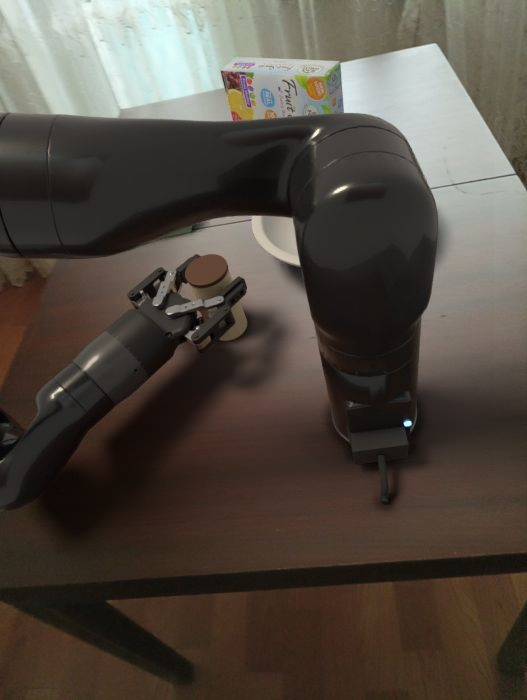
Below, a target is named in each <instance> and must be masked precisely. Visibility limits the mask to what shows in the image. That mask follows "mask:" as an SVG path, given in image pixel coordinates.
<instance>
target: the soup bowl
mask: <svg viewBox="0 0 527 700" xmlns="http://www.w3.org/2000/svg"><path fill="white" fill-rule="evenodd" d="M251 230H252V235H253V237H254V239H255V241H256V242H257V244H258V245H259V246H260V248H261V249H262V250H263V251H264V252H265V253H267V254H268V255H269V256H271V257H273V258H275V259H276V260H277V261H280V262H282V263H283V264H284V263H285V264H287V265H290V266H295V267H298V268H301V267H300V262H299V257H298V251H297V245H296V238H295V231H294V224H293V218H286V217H274V216H251Z"/></svg>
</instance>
